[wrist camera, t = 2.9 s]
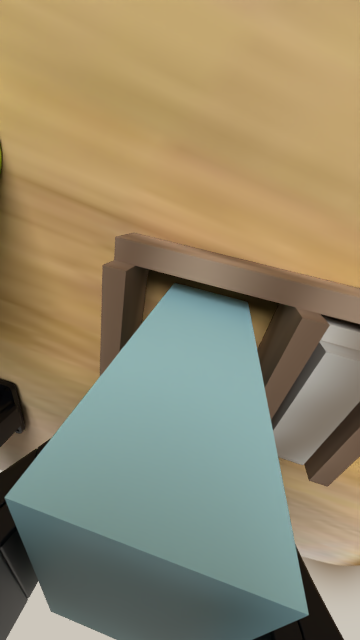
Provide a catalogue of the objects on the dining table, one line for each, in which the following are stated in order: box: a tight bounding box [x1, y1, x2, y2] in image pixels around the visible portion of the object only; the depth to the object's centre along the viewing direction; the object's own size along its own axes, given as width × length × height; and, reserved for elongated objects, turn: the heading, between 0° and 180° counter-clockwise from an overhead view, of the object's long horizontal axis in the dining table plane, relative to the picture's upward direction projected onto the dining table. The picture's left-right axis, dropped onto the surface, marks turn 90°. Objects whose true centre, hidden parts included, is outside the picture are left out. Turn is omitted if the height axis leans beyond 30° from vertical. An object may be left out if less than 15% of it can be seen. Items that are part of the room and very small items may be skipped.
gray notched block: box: [271, 315, 360, 465], centre depth 11 cm, size 2×8×3 cm, turn 169°
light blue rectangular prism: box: [5, 283, 309, 640], centre depth 9 cm, size 4×7×10 cm, turn 169°
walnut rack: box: [100, 233, 360, 487], centre depth 11 cm, size 14×10×3 cm
